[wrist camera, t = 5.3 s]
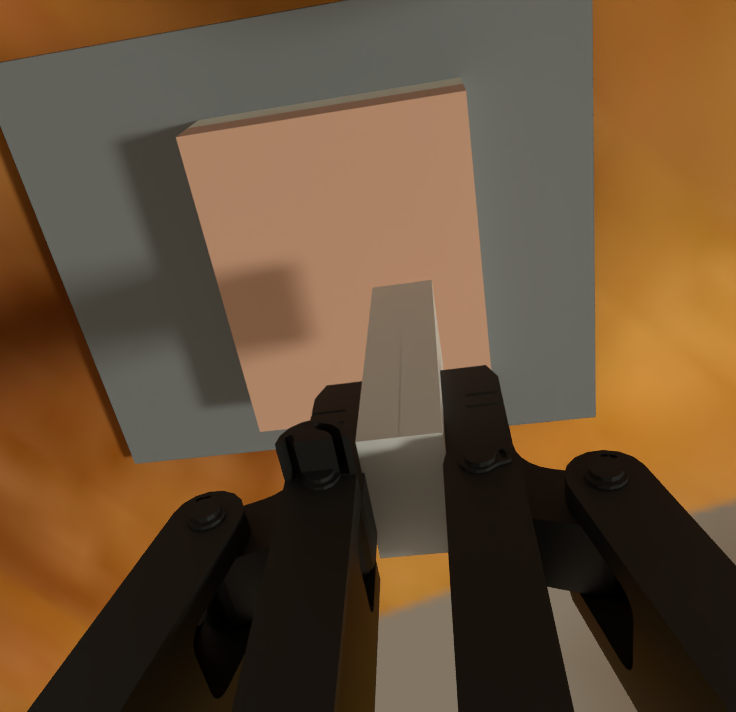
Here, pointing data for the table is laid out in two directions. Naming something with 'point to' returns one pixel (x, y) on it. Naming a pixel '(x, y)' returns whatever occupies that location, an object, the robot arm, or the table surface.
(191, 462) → the table surface
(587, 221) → the mat
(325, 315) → the tile
